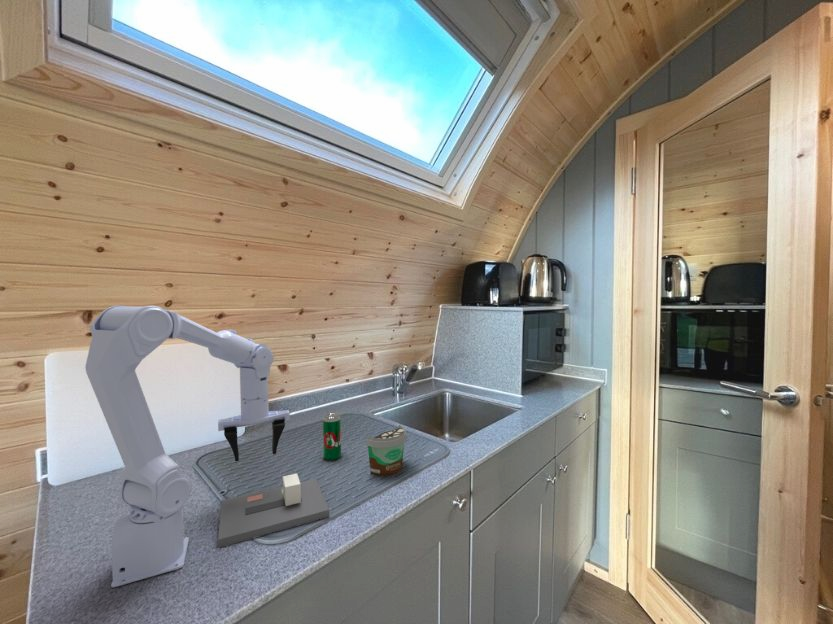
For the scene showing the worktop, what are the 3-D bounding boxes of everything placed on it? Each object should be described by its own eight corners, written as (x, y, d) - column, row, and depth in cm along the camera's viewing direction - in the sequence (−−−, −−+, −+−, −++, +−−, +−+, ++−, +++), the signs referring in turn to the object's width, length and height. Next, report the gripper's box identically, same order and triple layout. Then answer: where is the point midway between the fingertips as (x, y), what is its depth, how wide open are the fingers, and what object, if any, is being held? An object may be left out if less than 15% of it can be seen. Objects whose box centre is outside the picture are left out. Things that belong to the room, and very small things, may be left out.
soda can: (334, 451, 104) (333, 411, 103) (345, 456, 101) (344, 415, 100) (319, 457, 100) (318, 415, 100) (330, 463, 97) (329, 419, 96)
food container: (382, 484, 86) (381, 443, 85) (365, 475, 90) (365, 437, 89) (416, 466, 95) (416, 429, 94) (400, 459, 99) (400, 424, 99)
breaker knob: (285, 506, 74) (285, 487, 73) (283, 494, 78) (282, 476, 78) (300, 502, 75) (300, 483, 75) (297, 490, 79) (297, 473, 79)
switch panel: (218, 547, 64) (218, 539, 64) (221, 507, 77) (221, 499, 77) (329, 516, 73) (329, 509, 73) (316, 484, 86) (315, 478, 86)
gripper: (286, 388, 87) (287, 443, 87) (218, 396, 80) (220, 455, 81) (290, 395, 80) (291, 454, 81) (216, 404, 74) (218, 468, 74)
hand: (256, 455), depth 80 cm, fingers open, 7 cm apart
